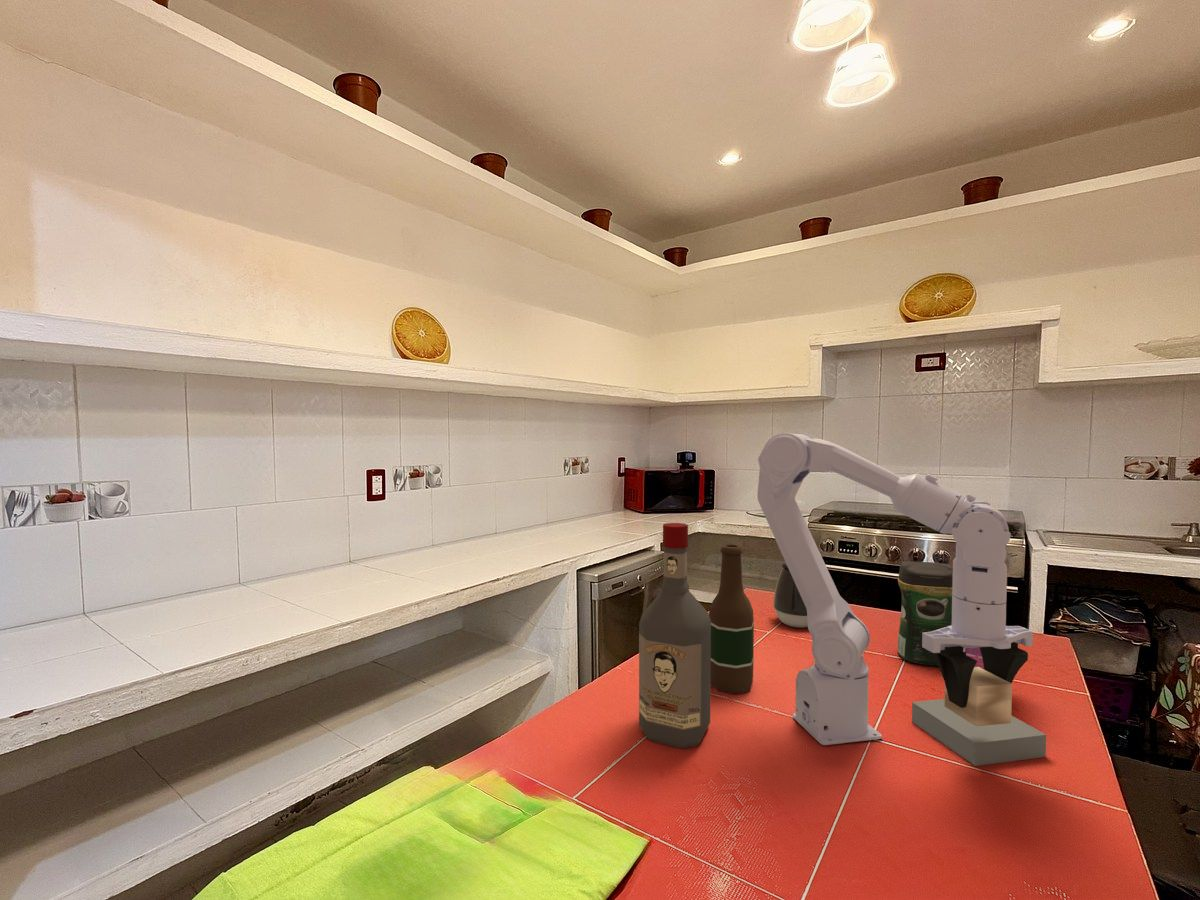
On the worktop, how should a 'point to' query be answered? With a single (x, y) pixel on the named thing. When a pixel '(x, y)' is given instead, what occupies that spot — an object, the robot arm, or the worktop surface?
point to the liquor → (675, 654)
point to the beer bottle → (731, 628)
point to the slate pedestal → (979, 735)
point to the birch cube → (985, 700)
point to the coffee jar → (923, 606)
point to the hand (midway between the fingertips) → (976, 702)
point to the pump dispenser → (789, 601)
